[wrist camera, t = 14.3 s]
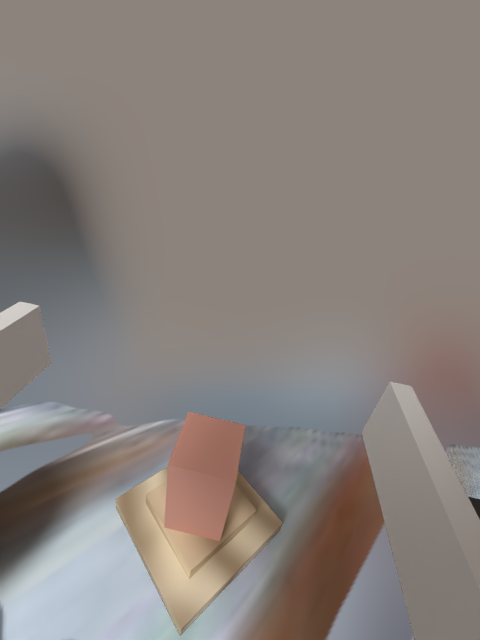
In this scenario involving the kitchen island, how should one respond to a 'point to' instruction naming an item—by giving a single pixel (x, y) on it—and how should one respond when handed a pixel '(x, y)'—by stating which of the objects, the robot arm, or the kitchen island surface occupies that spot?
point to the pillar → (203, 475)
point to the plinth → (167, 565)
